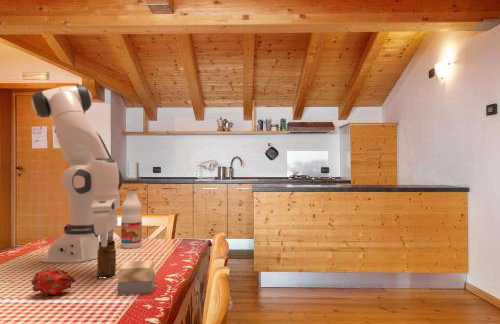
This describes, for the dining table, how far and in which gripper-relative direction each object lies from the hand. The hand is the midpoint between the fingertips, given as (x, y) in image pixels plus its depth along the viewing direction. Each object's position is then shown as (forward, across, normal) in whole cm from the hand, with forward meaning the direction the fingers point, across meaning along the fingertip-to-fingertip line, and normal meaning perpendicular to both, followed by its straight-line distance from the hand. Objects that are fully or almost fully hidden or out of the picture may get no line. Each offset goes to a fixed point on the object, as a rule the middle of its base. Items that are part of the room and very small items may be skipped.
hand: (107, 243), depth 130 cm
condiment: (+12, 0, -1) cm, 12 cm away
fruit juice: (+11, -50, 0) cm, 51 cm away
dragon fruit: (+11, +17, -12) cm, 24 cm away
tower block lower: (+12, +15, +12) cm, 23 cm away
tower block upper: (+8, +16, +12) cm, 21 cm away
